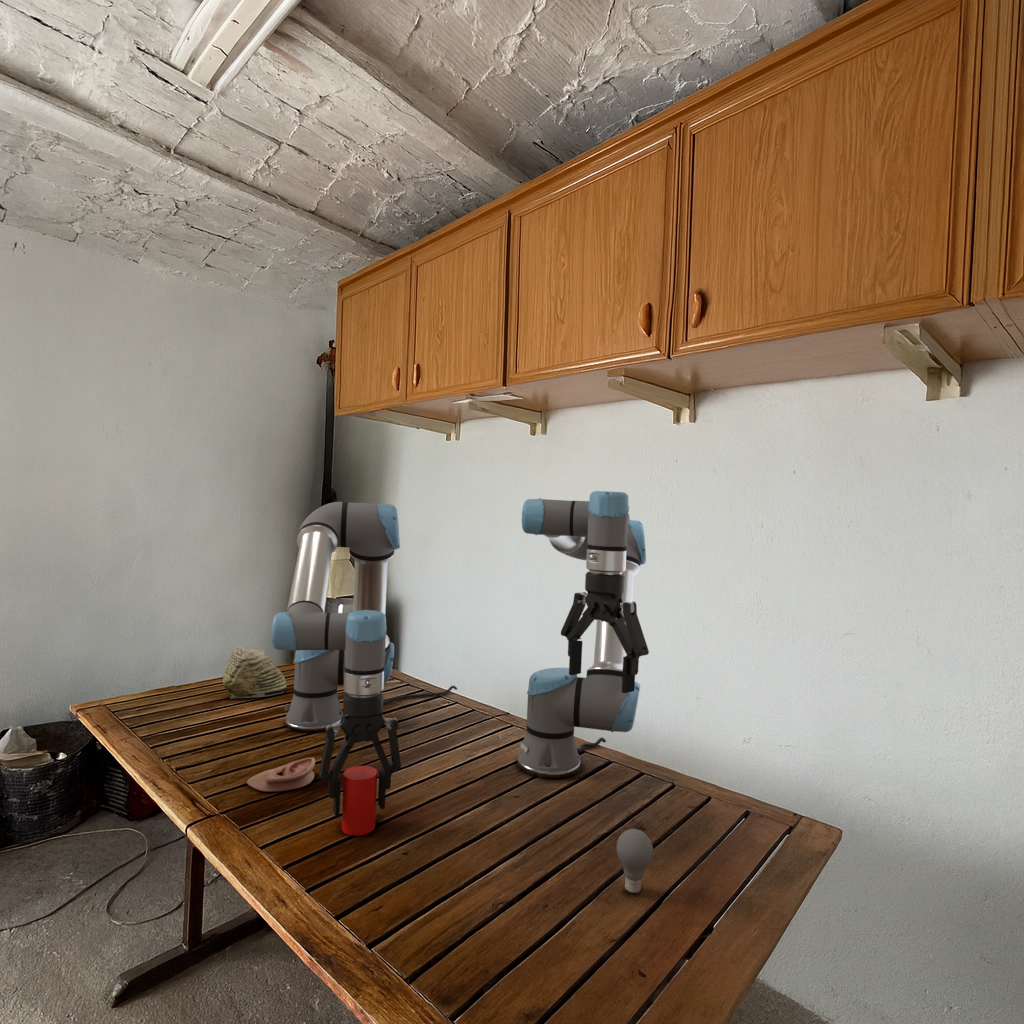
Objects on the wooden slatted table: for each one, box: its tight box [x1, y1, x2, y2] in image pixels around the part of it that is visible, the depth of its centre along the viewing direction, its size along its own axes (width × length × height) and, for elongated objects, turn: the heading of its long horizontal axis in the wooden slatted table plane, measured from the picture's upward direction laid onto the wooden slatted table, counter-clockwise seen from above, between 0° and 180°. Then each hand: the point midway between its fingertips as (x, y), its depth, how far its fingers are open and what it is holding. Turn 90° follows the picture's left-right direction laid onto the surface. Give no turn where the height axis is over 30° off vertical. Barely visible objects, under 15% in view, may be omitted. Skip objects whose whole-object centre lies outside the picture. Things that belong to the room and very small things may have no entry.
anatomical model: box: [246, 757, 316, 792], centre depth 140 cm, size 13×4×12 cm
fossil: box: [222, 646, 288, 699], centre depth 198 cm, size 9×18×15 cm, turn 132°
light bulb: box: [615, 828, 654, 894], centre depth 106 cm, size 6×6×10 cm
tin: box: [341, 765, 378, 837], centre depth 122 cm, size 6×6×11 cm
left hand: (359, 809), depth 122 cm, fingers open, 8 cm apart
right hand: (600, 682), depth 121 cm, fingers open, 13 cm apart
